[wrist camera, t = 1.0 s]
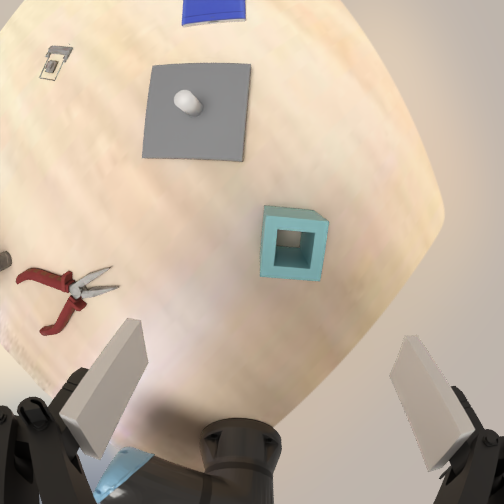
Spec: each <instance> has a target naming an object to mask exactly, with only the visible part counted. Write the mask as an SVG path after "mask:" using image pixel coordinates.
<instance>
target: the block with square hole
mask: <svg viewBox="0 0 504 504" xmlns="http://www.w3.org/2000/svg"><path fill="white" fill-rule="evenodd" d="M328 226H329V221H327V220H326V219H325V218H323V217H322V216H321V215H319V214H318V213H317V212H315V211H314V210H306V209H296V208H286V207H276V206H265V205H264V215H263V226H262V237H261V248H260V277H271V278H283V279H296V280H309V281H320V279H321V273H322V266H323V260H324V254H325V247H326V240H327V233H328ZM277 229H280V230H290V231H301V240H300V248H296V247H285V246H276V239H277Z"/></svg>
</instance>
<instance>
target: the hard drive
mask: <svg viewBox="0 0 504 504" xmlns="http://www.w3.org/2000/svg"><path fill="white" fill-rule="evenodd" d="M239 21H246V8H245V0H183V14H182V26H183V27H189V26H196V25H204V24H213V23H224V22H239Z"/></svg>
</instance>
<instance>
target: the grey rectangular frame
mask: <svg viewBox="0 0 504 504" xmlns="http://www.w3.org/2000/svg"><path fill="white" fill-rule="evenodd" d="M69 45H70V44H69ZM72 49H73V47H64V46H51V47H50V48H49V50H48V52H47V54H46V56H45V57H48V59H49V57H50V55H51V53H53V54H63V55H64V57H63V59H64V61H63V62H64V63H65V62H66V60H67V59H68V57H69V55H70V53H71V51H72ZM48 59H47V61H48ZM47 61H46V63H47ZM57 62H58V61H51V60H50V61H48V63H47V65H46V63H45V65H46V67H45V66H44V68H45V69H46V70H45V72H51V73H54V72H53V70H55V69H54V68H55V66H56V63H57ZM57 64H58V63H57ZM62 64H63V63H62ZM56 67H57V66H56ZM61 67H62V65H61ZM61 67H60V69H61ZM44 68H43V70H44ZM60 69H59V71H60ZM43 70H42V72H43ZM59 71H58V73H59ZM42 72H41V75H42ZM58 73H57V75H58ZM41 75H40V77H41ZM40 77H39V78H40ZM56 77H57V76H56ZM41 79H46V78H41ZM47 80H52V79H47ZM55 80H56V78H55ZM55 80H53V81H55Z"/></svg>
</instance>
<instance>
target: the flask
mask: <svg viewBox="0 0 504 504" xmlns="http://www.w3.org/2000/svg"><path fill="white" fill-rule="evenodd" d="M11 264H12V259H11V256H10V254H9V253H8V252H7V251H5V252H3V253H0V271H2V270H4V269H6V268H8V267H10V266H11Z"/></svg>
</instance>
